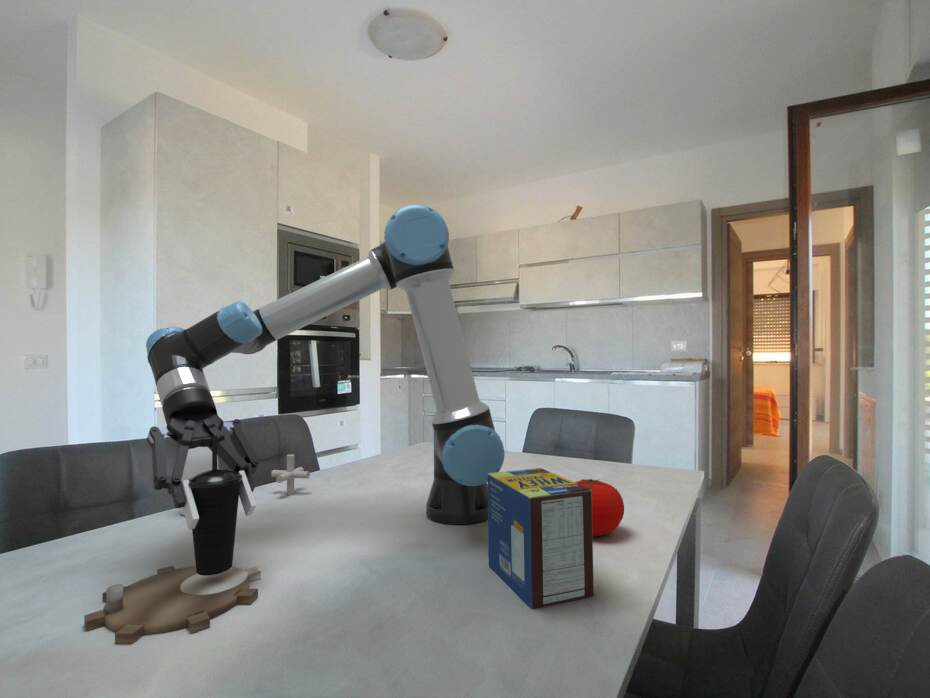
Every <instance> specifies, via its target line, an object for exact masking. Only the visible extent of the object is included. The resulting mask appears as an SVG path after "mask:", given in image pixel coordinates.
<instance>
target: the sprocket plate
mask: <svg viewBox="0 0 930 698" xmlns="http://www.w3.org/2000/svg"><path fill="white" fill-rule="evenodd" d="M156 571H157V572H156V573H157V574H154V575H150V576H148V577H145V578H142V579H140V580H137V581H135V582H132V583H131V584H128V585H126V586H125V585H124V584H122V583H118V584H112V585H110V586H108V587H107V588H106V591H103V592H102V595H101V596H102V602H103V603H105V604H104V606H103V608H102V610H98V611H94V612H91V613H88V614H84V616H83V617H84V619H83V621H84V622H83V624H84V630H85V632H87V631H91V630H94V629H97V628H101V627H106V628H107V629H108V630H109V631H112V632H115V633H114V644H126V645H127V644H128V645H129V644H134V643H135V642H137V641H138V640H139V639H140V638H141V637H142V636H144V635H154V634H160V633H161V634H162V633H167V632H173V631H177V630H181V629H185V628H187V630H188V631H189V633H190V634H193V633H197V632H199V631H202V630H206V629H208V628H210V627H211V619H214V618H216V617H218V616H221V615H222V614H224V613H226V612H227V611H229V610H231V609H232V608H234V607H235V606H237V605H248V606H249V605H252V604H253V602H255V600H257V598H258V597H259V588H250V583H251V582H254V580H255V581H257V580H260V579H262V571H261V570H260V569H259V568H258V566H253V567H250V568H246V569H243V568H241V567H237V566H233V565H232V567H231V568H230V569H229V570H227V571H225V572H222V573H219V574H215V575H208V576H204V575H199V574H197V572H196V565H192V566H186V567H180V568H176V567H175V566H174V565H169V566H165V567H162V568H157V569H156Z"/></svg>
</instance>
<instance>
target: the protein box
mask: <svg viewBox="0 0 930 698" xmlns="http://www.w3.org/2000/svg"><path fill="white" fill-rule="evenodd" d="M575 482H576V481H573V480H570V479H567V478H566V477H563V476H561V475H558V474H556V473H554V472H551V471H549V470H547V469H544V468H542V467H538V468H536V467H535V468H529V469H518V470H507V471H499V472H495V473H488V482H487V484H488V520H487V527H488V528H487V529H488V531H487V535H488V538H487V539H488V543H487V544H488V545H487V547H488V549H487V550H488V552H487V553H488V567H489V568H491V570H492V571H494V573H495V574H496V575H497V576H498V577H500V578H501V579H502V581H503V582H504V583H505V584H506V585H507V586H508V587H509V588H510V589H511V590H512V591H513V592H514V593H515V595H517V596H518V597H519V598H520V599H521V600H522V602H523V603H524V604H526V606H528V607H529V609H536V608H542V607H546V606H547V607H548V606H552V605H555V604H560V603H565V602H570V601H574V600H580V599H584V598H590V597H593V596H594V594H595V592H594V591H595V590H594V589H595V586H594V554H593V553H594V551H593V549H594V547H593V546H594V545H593V544H594V542H593V537H594V536H592V490H591V489H590V488H588V487H585V486H583V485H580V484H578V483H575Z"/></svg>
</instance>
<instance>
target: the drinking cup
mask: <svg viewBox="0 0 930 698" xmlns="http://www.w3.org/2000/svg"><path fill="white" fill-rule="evenodd" d="M217 456H218V455H217V436H212V470H208V471H204V472H202V473H199V474H197V475H195V476H194V477H192V478H190V479H188V480H189V483H188V485H189V487H190V488H191V491H192V494H193V498H194V501H195V505H196V508H197V512H198V515H199V520H198V522H197V524H196V526H195V529H191V532H192V544H193V551H194V561H195V566H196V572H197V574H199V575H204V576H208V575H215V574H219V573H222V572H225V571H227V570H229V569H230V568H231V567H232V566H233V561H234V560H233V559H234V551H235V549H234V548H235V541H236V540H235V539H236V531H237V529H236V528H237V520H238V510H239V508H238V507H239V499H240V497H239V489H240V481H241V480H242V474H239V473H235V472H233V471H232V470H231V469H223V468H219V469H217Z"/></svg>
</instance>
